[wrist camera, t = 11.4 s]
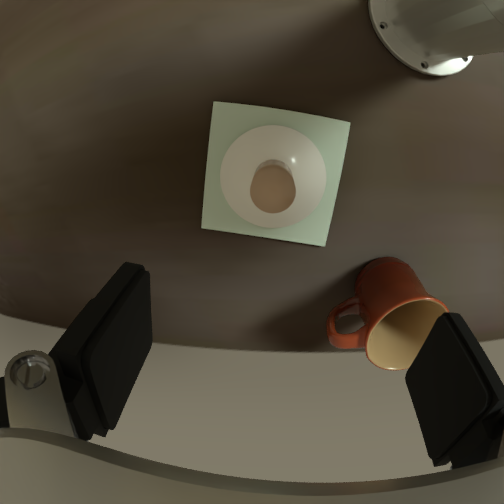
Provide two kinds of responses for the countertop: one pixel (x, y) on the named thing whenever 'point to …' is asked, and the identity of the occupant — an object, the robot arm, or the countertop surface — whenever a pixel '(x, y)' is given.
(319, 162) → the lid
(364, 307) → the mug
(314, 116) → the mat
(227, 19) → the countertop surface
